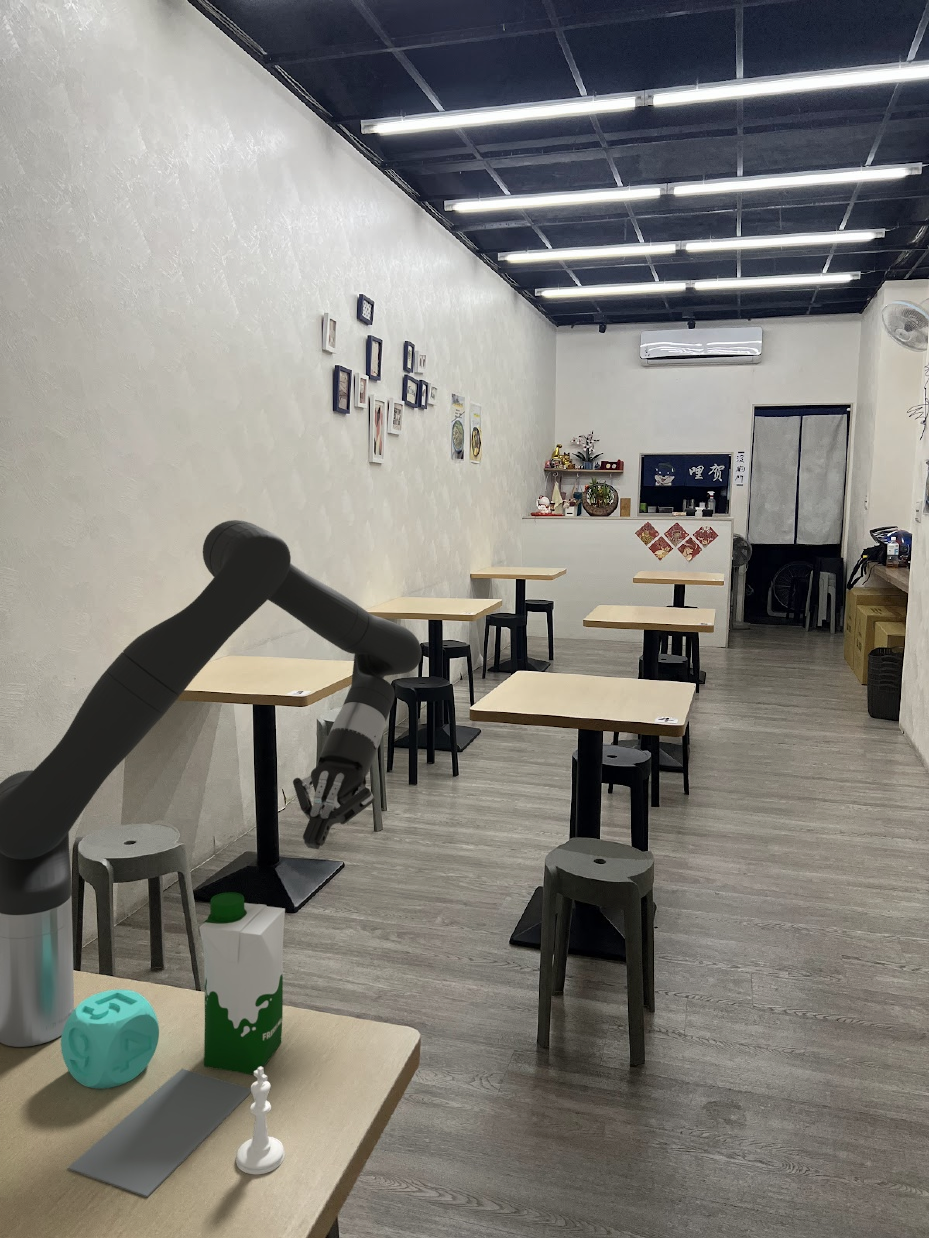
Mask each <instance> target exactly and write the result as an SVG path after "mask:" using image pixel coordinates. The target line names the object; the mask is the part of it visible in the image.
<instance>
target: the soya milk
mask: <svg viewBox="0 0 929 1238" xmlns="http://www.w3.org/2000/svg"><path fill="white" fill-rule="evenodd" d="M209 905H210V907H209V908H210V913H209V915H208V917H207V918H206V919H205V920H204V921H203V923H202V924H201V925H200V926H199V932H200V933H199V934H200V939H201V944H202V948H203V955H204V958H203V961H204V975H203V976H204V1036H203V1037H204V1039H203V1041H204V1044H203V1045H204V1048H203V1050H204V1051H203V1067H204V1068H210V1069H216V1070H221V1071H222V1070H223V1071H227V1072H234V1073H241V1074H248V1075H253V1076H254V1071H255V1070H258V1068H259V1067H263V1068H264V1069H265V1066H266V1065H267V1064H268V1062H269V1061H270V1059H271V1058H272V1056H273V1055H274V1053H276V1051H277V1050H278V1048H279V1046H280V1045H281V1044H282V1036H283V1035H282V1034H283V1033H282V1032H283V1009H284V1008H283V1006H284V1005H283V1003H284V1002H283V1001H284V999H283V998H284V996H283V994H284V993H283V991H284V990H283V987H284V986H283V984H284V983H283V982H284V979H283V978H284V977H283V975H284V973H283V971H284V967H283V966H284V963H283V961H284V951H283V950H284V934H285V933H284V931H285V916H286V914H285V913H286V908H282V907H275V906H267V904H260V903H258V904H257V903H248V902H245V897H244V895H243V894H242V893H238V892H229V891H228V892H221V893H219V894H218V893H217V894H216V895H213V896H212V897H211V899H210V903H209Z"/></svg>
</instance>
